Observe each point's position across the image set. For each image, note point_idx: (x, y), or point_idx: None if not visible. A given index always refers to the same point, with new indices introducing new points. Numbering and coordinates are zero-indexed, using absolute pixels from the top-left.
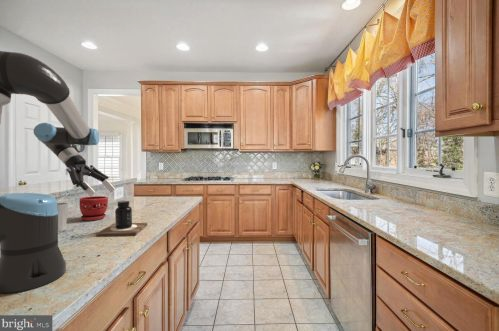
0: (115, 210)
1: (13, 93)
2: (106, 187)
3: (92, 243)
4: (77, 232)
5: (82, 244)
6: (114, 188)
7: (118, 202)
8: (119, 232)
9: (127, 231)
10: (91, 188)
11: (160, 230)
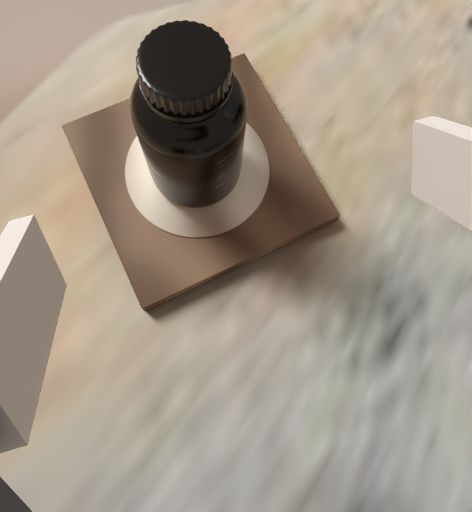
0: (240, 129)
1: None
2: (49, 338)
3: (408, 150)
4: (332, 399)
5: None
6: (26, 217)
7: (230, 68)
8: (276, 121)
9: (247, 99)
10: (468, 134)
11: (132, 16)
